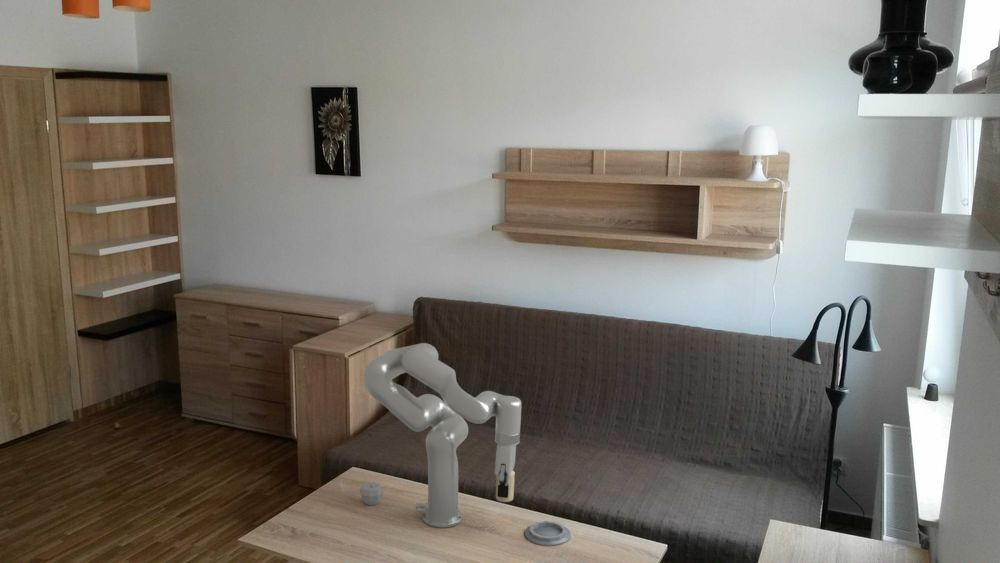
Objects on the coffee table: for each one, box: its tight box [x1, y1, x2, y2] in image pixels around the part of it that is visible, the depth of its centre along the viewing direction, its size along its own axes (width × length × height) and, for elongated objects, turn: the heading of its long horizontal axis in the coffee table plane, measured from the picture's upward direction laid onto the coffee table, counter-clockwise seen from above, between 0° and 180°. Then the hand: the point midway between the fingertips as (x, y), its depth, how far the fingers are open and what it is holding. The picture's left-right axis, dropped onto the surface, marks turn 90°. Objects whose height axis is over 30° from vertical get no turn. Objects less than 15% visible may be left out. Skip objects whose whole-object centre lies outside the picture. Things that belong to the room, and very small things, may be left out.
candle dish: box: [524, 520, 571, 547], centre depth 254 cm, size 14×14×2 cm
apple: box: [359, 481, 384, 506], centre depth 274 cm, size 8×8×7 cm
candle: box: [495, 470, 516, 503], centre depth 254 cm, size 6×6×10 cm
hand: (504, 492), depth 255 cm, fingers closed on candle, 5 cm apart
